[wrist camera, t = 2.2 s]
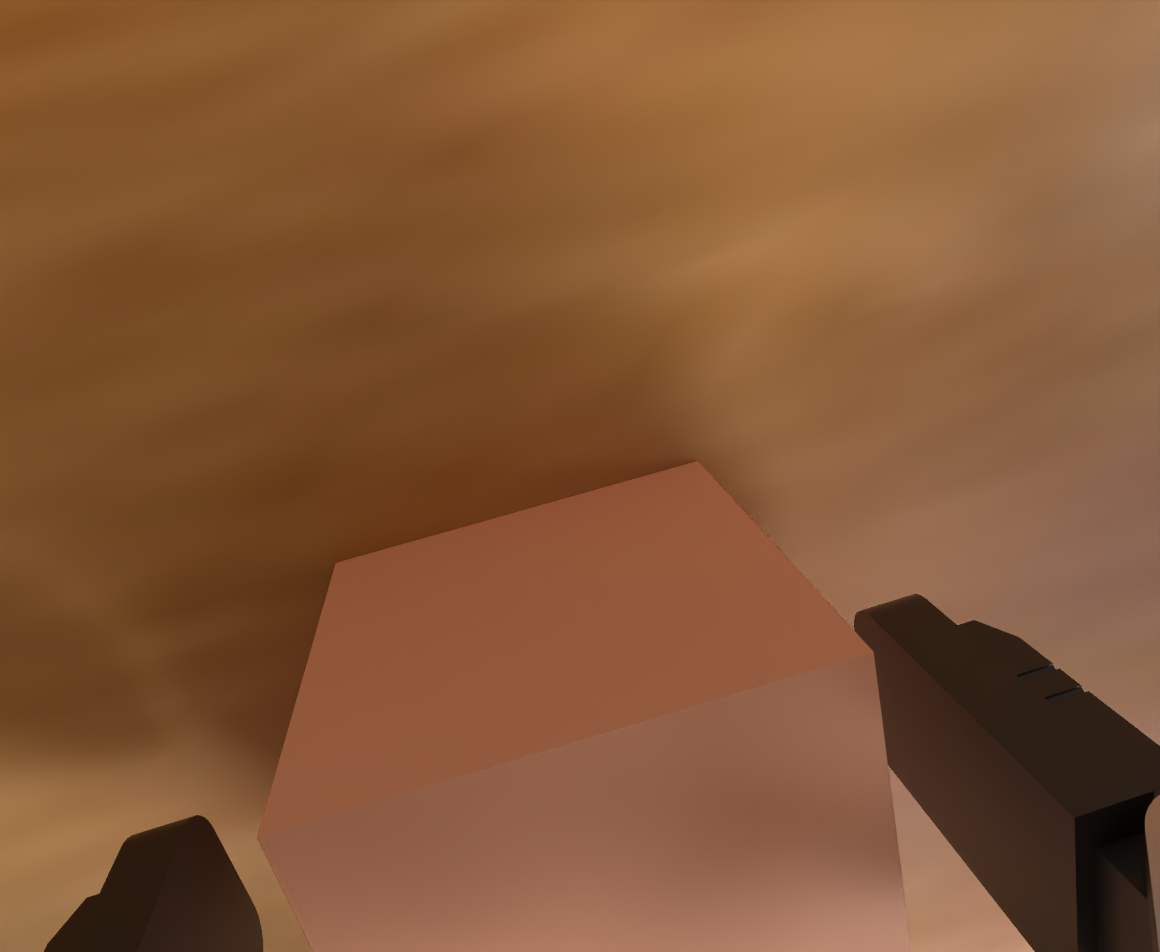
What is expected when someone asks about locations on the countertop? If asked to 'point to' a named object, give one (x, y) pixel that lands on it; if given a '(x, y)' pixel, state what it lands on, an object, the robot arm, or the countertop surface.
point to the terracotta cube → (588, 743)
